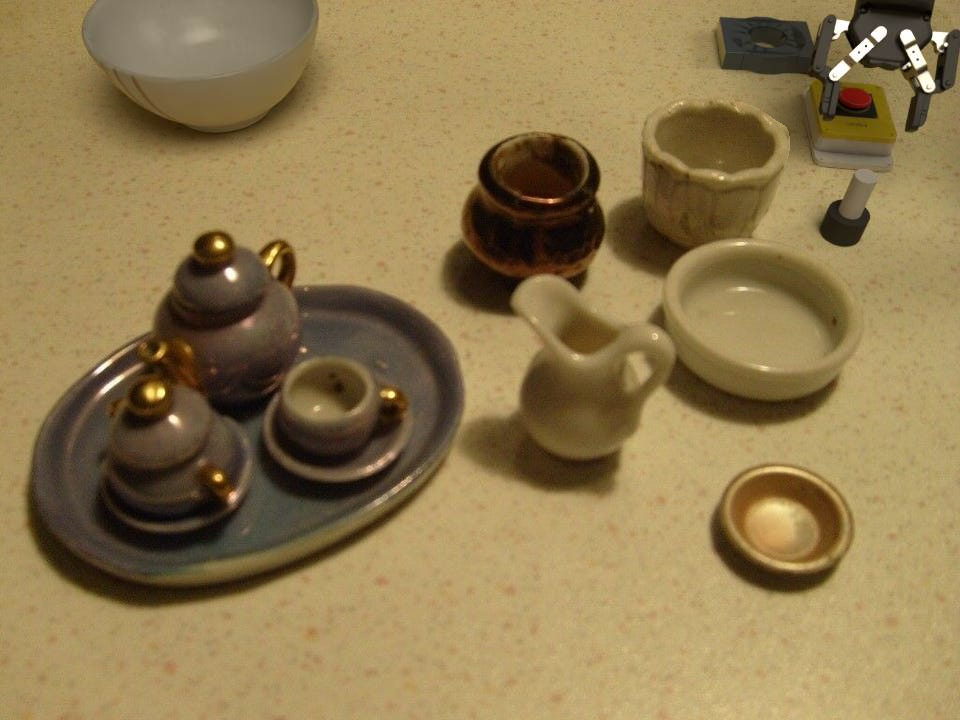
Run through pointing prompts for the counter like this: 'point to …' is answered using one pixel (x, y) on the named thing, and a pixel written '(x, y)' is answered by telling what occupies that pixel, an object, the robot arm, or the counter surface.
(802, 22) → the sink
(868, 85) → the emergency button
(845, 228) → the stopper
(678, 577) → the counter surface
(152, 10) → the decorative bowl
